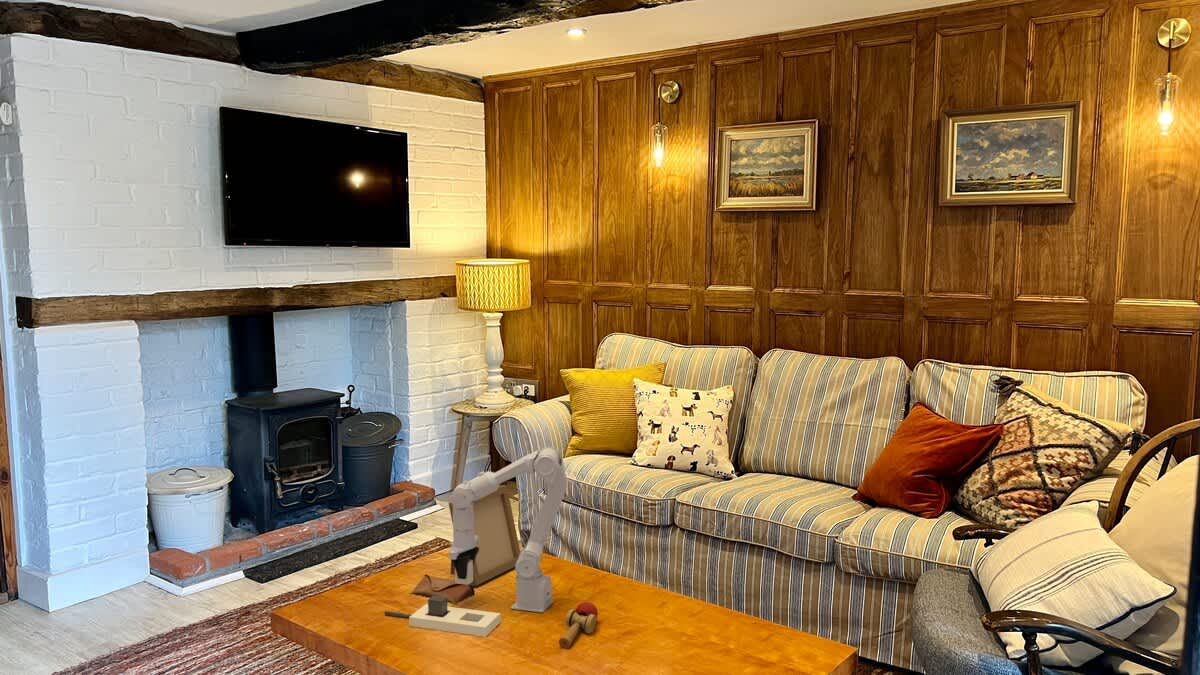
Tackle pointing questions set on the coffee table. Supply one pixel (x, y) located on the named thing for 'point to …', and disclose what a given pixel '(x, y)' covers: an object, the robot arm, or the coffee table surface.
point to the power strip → (451, 618)
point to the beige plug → (469, 575)
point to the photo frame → (493, 536)
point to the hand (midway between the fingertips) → (465, 576)
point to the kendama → (579, 622)
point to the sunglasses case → (443, 589)
